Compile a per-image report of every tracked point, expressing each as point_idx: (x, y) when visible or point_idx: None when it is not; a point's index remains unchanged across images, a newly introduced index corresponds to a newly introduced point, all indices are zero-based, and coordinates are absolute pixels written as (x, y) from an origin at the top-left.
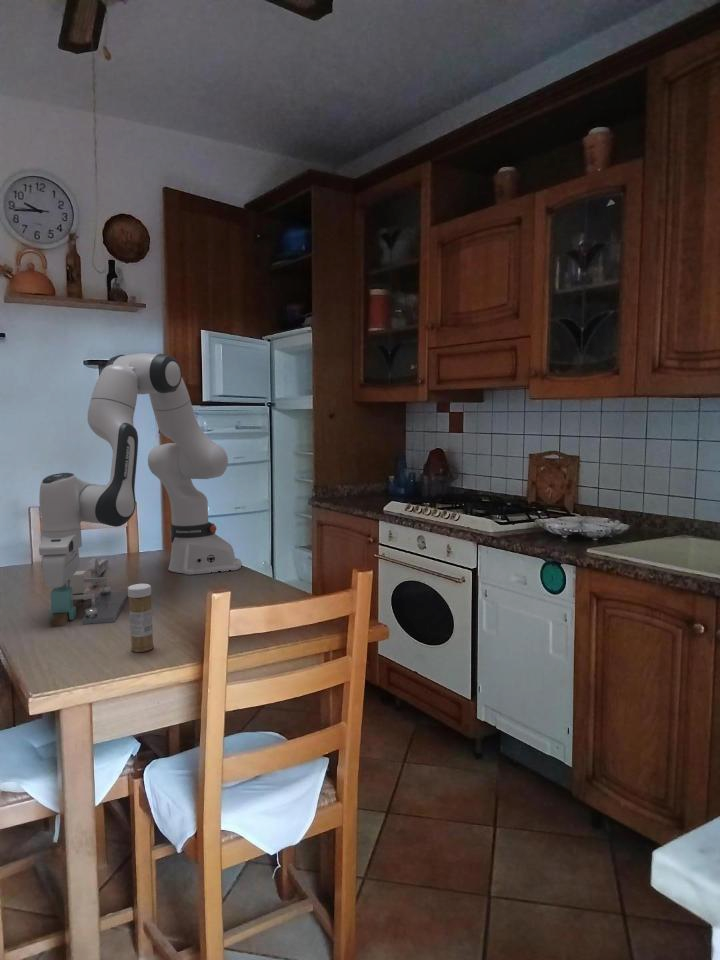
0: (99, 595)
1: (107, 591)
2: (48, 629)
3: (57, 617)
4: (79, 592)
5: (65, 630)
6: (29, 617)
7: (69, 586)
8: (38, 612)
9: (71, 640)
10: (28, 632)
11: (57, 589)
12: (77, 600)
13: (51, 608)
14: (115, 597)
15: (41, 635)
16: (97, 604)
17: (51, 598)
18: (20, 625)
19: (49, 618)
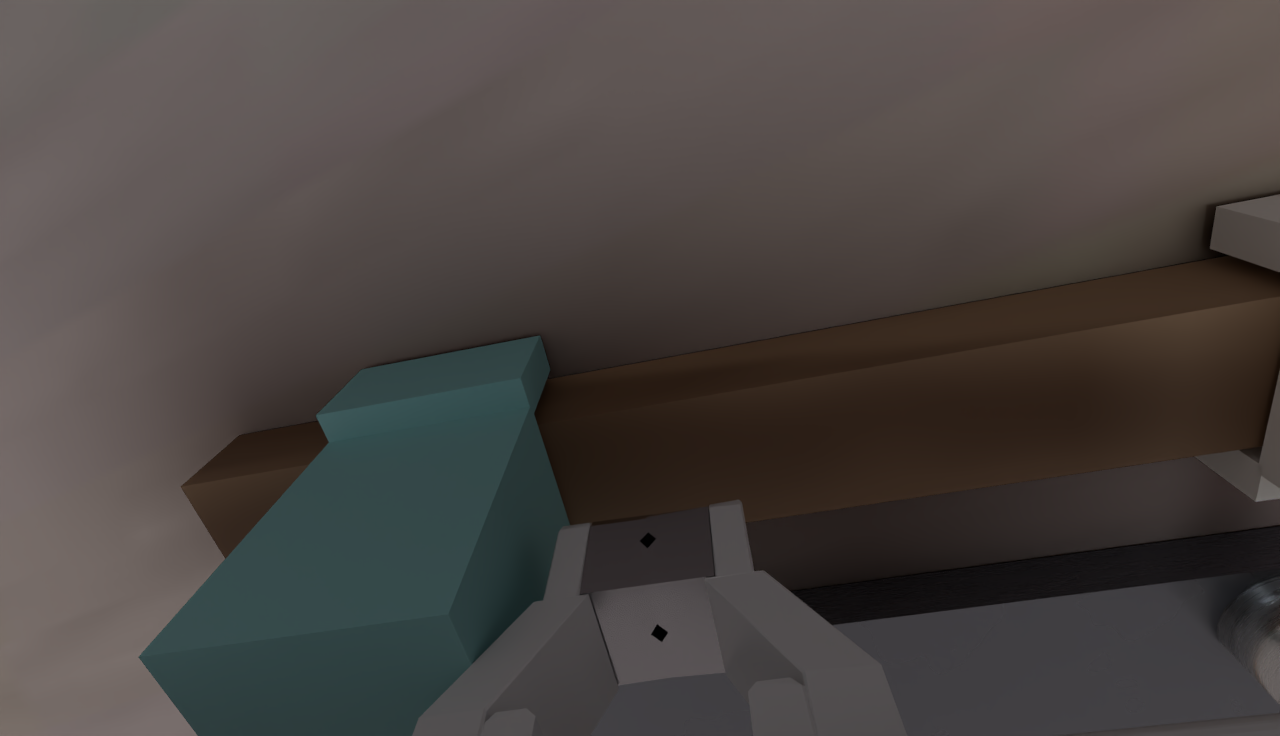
0: (1196, 588)
1: (1248, 671)
2: (164, 447)
3: (220, 545)
4: (1277, 432)
5: (185, 583)
6: (519, 14)
7: (746, 699)
8: (753, 29)
9: (7, 689)
10: (20, 301)
11: (358, 690)
12: (938, 485)
13: (300, 476)
14: (1042, 733)
15: (2, 457)
16: None
17: (220, 580)
18: (190, 74)
19: (350, 384)
